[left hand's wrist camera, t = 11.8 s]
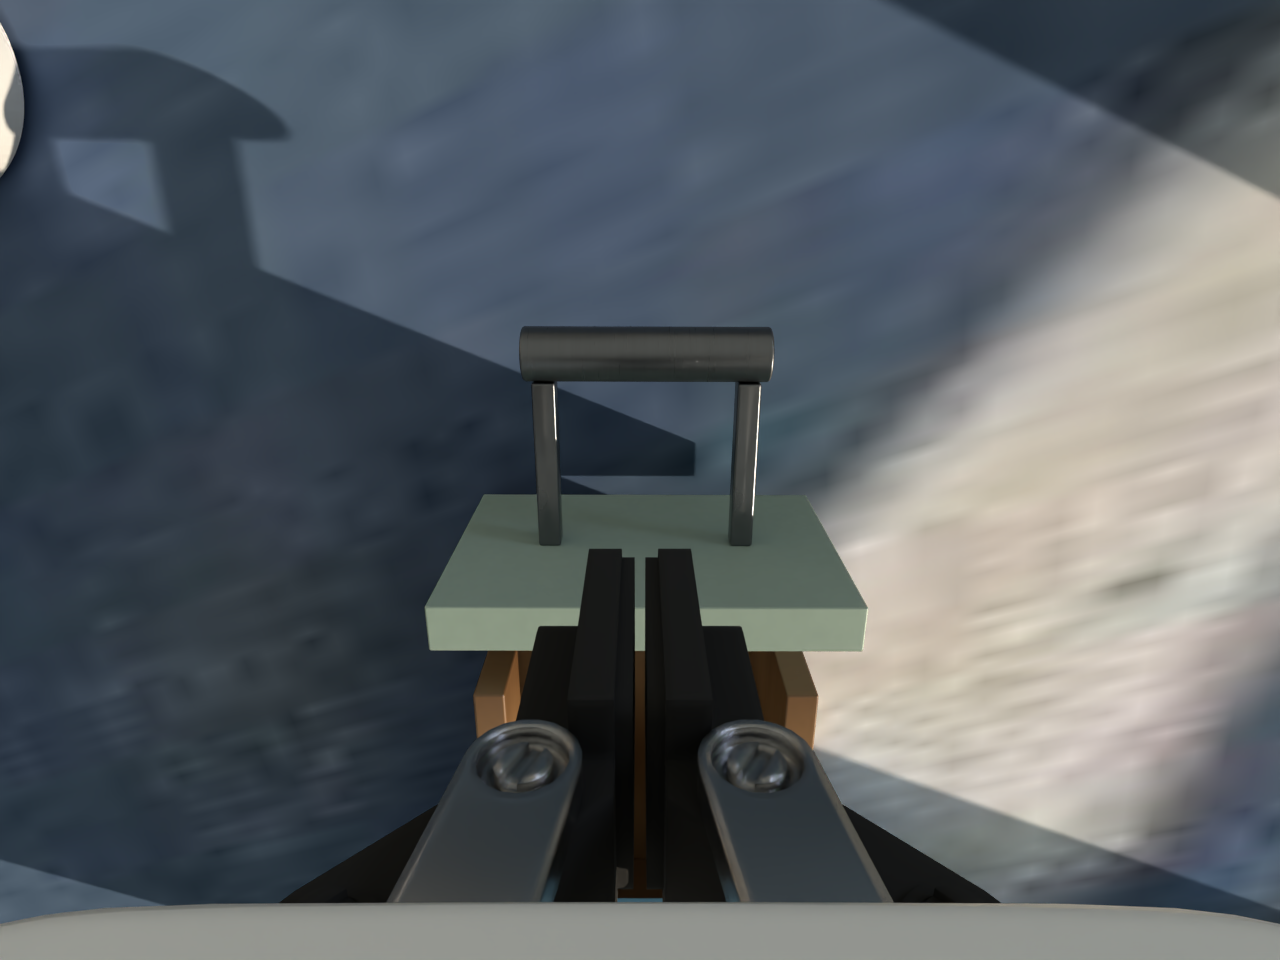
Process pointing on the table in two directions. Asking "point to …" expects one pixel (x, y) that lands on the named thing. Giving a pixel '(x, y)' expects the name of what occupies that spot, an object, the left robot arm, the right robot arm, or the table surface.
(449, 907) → the left robot arm
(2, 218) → the table surface
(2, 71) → the coffee cup
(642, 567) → the drawer
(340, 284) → the table surface
